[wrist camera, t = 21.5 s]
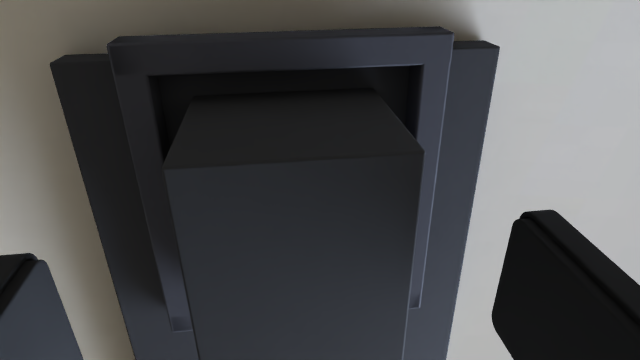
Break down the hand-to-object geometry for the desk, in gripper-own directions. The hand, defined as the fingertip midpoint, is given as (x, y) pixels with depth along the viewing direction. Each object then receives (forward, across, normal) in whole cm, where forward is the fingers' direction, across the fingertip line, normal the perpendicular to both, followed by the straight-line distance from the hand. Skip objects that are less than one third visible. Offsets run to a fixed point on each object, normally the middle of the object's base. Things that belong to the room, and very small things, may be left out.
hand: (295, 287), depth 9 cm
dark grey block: (+5, 0, 0) cm, 5 cm away
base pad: (+6, 0, +4) cm, 7 cm away
